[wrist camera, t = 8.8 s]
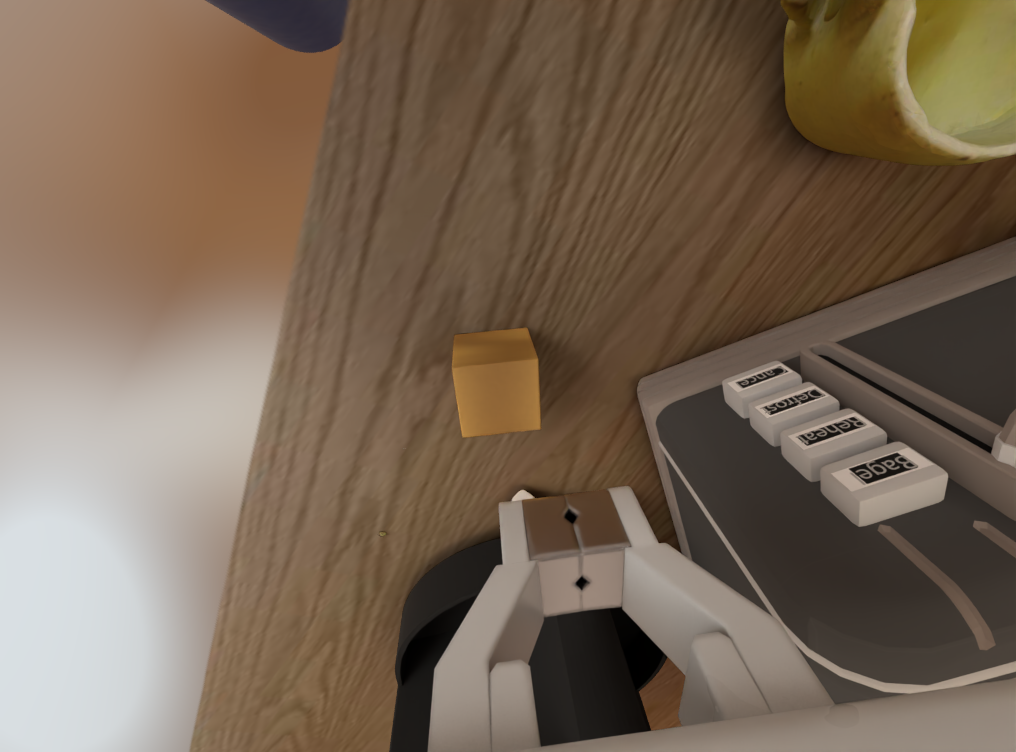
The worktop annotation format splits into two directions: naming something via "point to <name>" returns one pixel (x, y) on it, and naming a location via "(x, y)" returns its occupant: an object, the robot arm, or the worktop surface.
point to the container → (553, 663)
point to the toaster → (861, 477)
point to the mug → (903, 78)
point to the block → (496, 382)
